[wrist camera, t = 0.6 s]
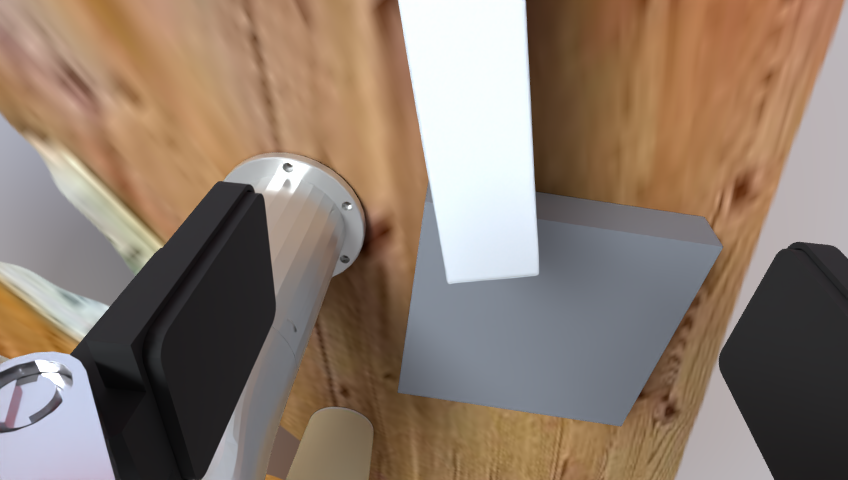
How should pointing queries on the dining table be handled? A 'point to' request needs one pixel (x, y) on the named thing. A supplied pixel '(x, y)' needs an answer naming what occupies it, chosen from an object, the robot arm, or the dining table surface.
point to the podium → (558, 312)
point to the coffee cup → (334, 447)
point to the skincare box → (476, 132)
